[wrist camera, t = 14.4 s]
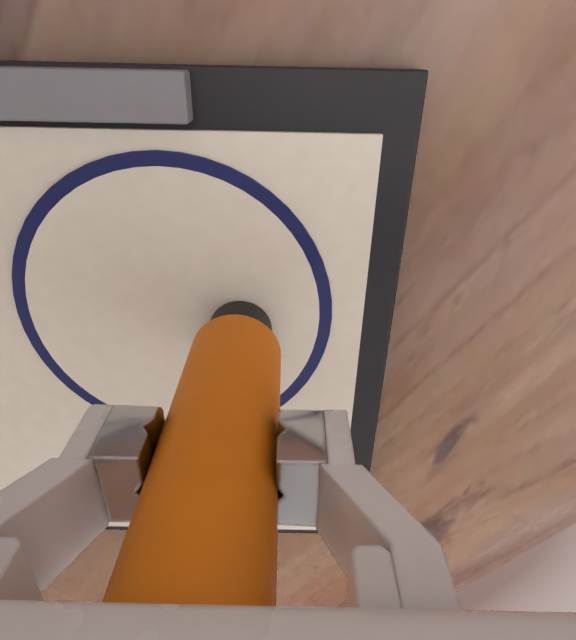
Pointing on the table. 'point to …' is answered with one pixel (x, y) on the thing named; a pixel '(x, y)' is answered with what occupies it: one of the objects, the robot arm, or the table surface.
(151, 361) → the circle
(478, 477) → the table surface
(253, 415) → the marker
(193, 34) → the table surface
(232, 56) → the table surface
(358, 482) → the robot arm
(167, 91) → the clipboard
